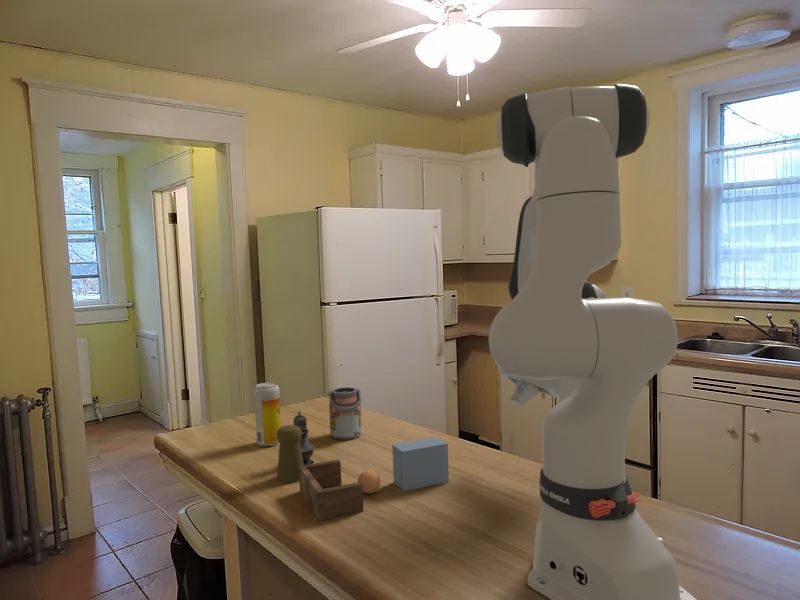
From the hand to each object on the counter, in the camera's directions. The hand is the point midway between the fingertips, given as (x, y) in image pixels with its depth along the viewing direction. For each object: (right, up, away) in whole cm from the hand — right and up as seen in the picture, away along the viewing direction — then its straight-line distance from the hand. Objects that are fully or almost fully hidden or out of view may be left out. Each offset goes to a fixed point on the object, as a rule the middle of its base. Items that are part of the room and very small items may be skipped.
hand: (515, 403), depth 116 cm
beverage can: (-37, -14, +31) cm, 50 cm away
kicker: (-19, -16, -1) cm, 25 cm away
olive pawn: (-47, -17, +4) cm, 50 cm away
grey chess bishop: (-46, -16, +12) cm, 50 cm away
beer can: (-56, -15, +27) cm, 64 cm away
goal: (-36, -17, -8) cm, 41 cm away
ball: (-30, -16, -5) cm, 34 cm away
